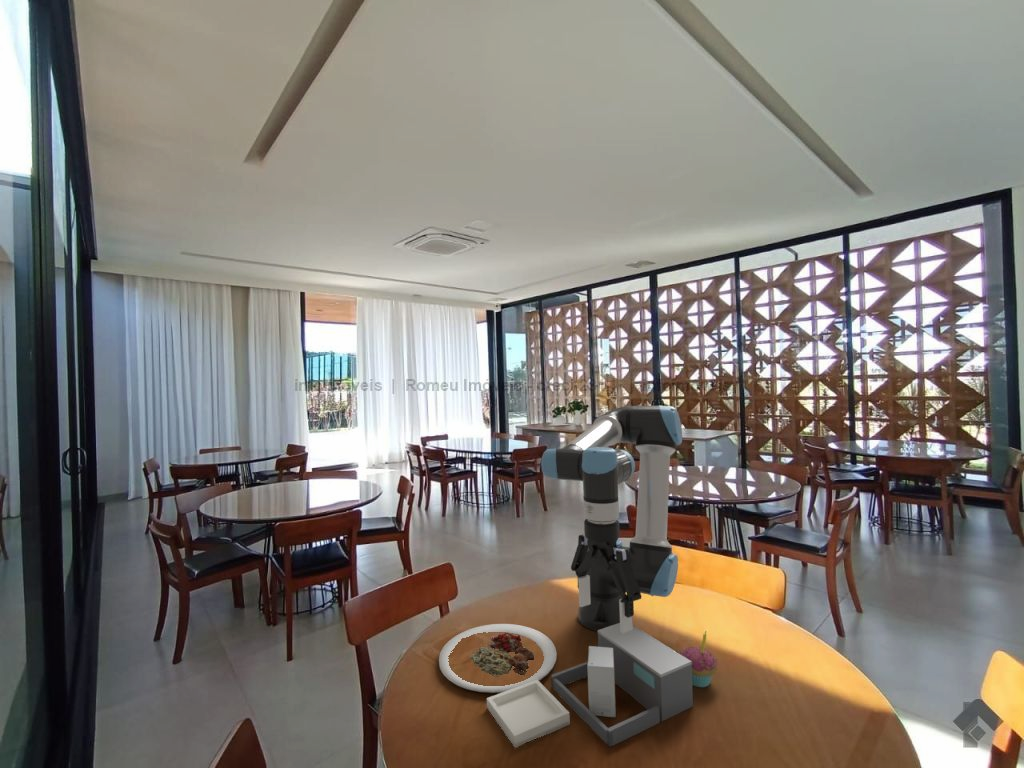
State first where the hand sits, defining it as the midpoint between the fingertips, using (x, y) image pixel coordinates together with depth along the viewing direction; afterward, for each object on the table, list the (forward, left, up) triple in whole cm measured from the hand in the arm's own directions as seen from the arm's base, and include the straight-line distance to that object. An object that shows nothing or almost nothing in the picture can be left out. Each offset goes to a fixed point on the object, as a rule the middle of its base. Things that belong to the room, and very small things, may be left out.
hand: (604, 617), depth 102 cm
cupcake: (+4, +23, -19) cm, 30 cm away
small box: (-1, -1, -19) cm, 19 cm away
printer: (-1, +4, -19) cm, 19 cm away
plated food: (-28, -13, -19) cm, 36 cm away
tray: (-6, -17, -19) cm, 26 cm away
